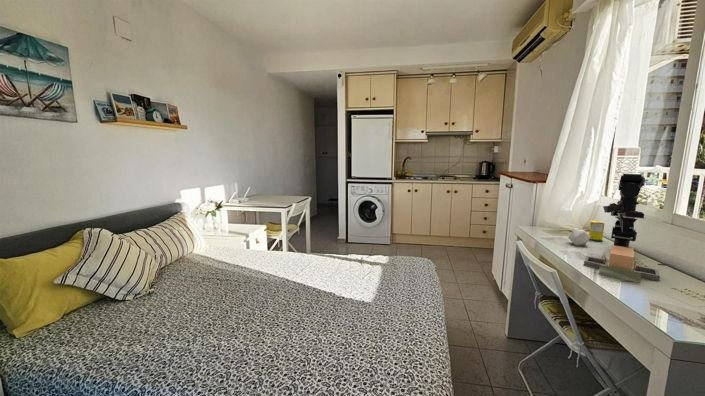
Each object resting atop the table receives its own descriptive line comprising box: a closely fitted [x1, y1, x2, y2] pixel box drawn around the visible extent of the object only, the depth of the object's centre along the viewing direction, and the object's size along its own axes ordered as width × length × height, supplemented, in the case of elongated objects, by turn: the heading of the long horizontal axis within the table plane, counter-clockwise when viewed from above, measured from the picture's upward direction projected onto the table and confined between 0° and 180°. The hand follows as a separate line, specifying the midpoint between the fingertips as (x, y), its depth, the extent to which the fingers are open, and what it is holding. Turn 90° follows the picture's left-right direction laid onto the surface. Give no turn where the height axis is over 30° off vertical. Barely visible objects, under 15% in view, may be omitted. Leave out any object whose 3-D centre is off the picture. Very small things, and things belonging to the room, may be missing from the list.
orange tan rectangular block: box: [608, 244, 635, 270], centre depth 120 cm, size 15×7×9 cm, turn 136°
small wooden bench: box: [598, 252, 642, 284], centre depth 123 cm, size 27×12×4 cm, turn 136°
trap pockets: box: [583, 255, 661, 282], centre depth 122 cm, size 9×23×2 cm, turn 46°
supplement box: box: [588, 219, 605, 243], centre depth 164 cm, size 6×6×11 cm
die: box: [567, 229, 590, 246], centre depth 156 cm, size 8×9×10 cm
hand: (623, 232), depth 133 cm, fingers closed
